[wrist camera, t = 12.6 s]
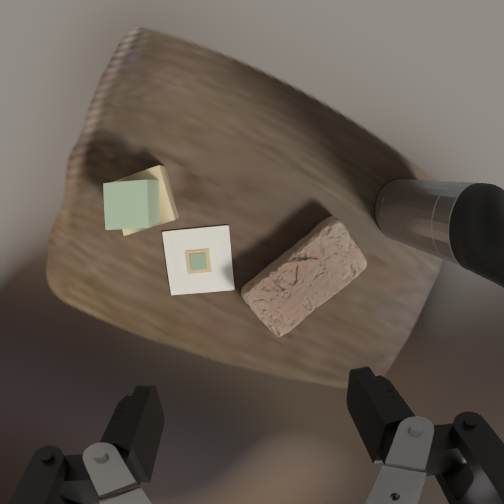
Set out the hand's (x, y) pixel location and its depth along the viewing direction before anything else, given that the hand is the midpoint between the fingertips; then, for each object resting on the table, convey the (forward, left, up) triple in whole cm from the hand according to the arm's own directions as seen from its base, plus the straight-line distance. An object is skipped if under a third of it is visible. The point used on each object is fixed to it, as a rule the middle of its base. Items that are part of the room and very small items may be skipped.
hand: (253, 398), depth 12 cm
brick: (-9, +5, -32) cm, 33 cm away
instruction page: (+5, +2, -31) cm, 32 cm away
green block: (+11, -7, -27) cm, 31 cm away
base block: (+11, -7, -31) cm, 34 cm away
